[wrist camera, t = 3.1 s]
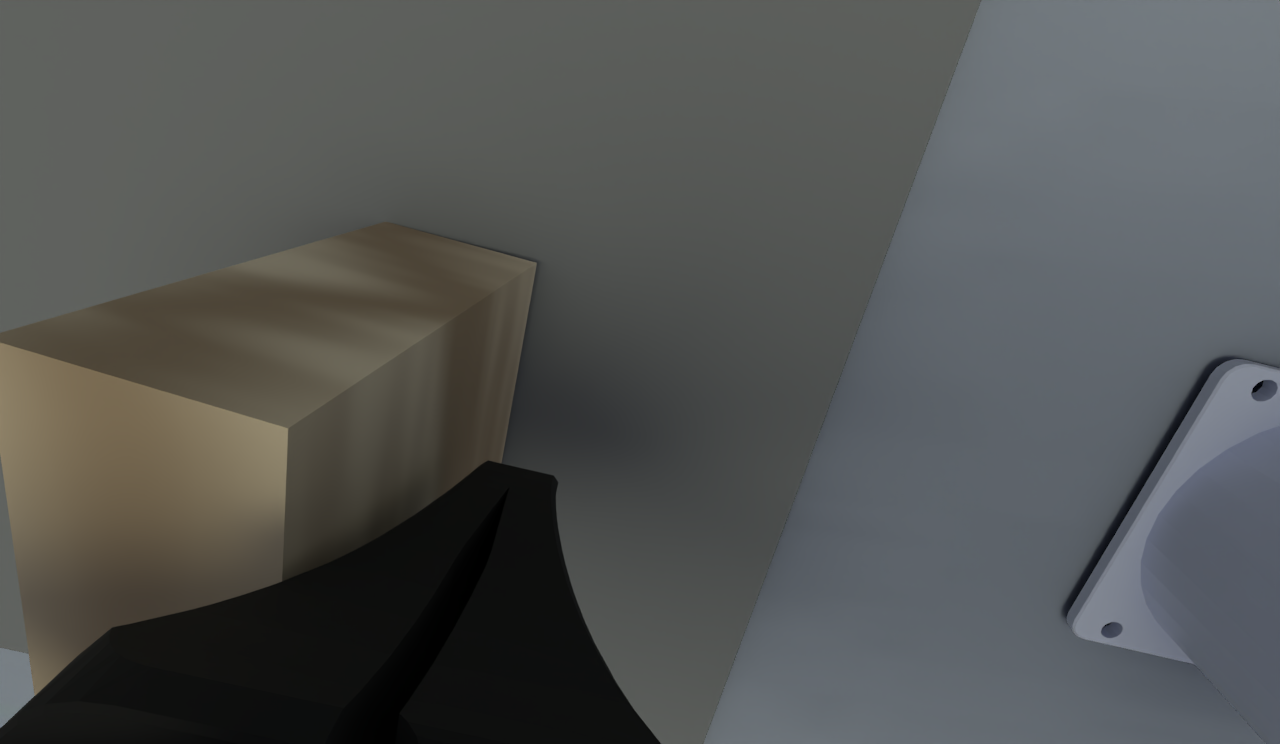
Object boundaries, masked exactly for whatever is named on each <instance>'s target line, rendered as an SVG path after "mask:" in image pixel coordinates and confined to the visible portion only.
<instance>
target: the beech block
mask: <svg viewBox="0 0 1280 744" xmlns="http://www.w3.org/2000/svg"><path fill="white" fill-rule="evenodd" d="M536 266H537V263H536V262H532V261H528V260H525V259H521V258H517V257H514V256H510V255H506V254H503V253H499V252H495V251H492V250H488V249H484V248H481V247H477V246H474V245H470V244H466V243H463V242H459V241H455V240H452V239H448V238H444V237H441V236H437V235H433V234H430V233H426V232H422V231H419V230H415V229H411V228H408V227H404V226H400V225H397V224H393V223H389V222H382V223H379V224H375V225H372V226H369V227H365V228H362V229H358V230H355V231H351V232H348V233H344V234H341V235H337V236H334V237H330V238H327V239H323V240H320V241H317V242H313V243H310V244H306V245H303V246H299V247H296V248H292V249H289V250H285V251H282V252H278V253H275V254H272V255H268V256H265V257H261V258H258V259H254V260H251V261H247V262H244V263H240V264H237V265H233V266H230V267H226V268H223V269H220V270H216V271H213V272H209V273H206V274H202V275H199V276H195V277H192V278H188V279H185V280H181V281H178V282H174V283H171V284H168V285H164V286H161V287H157V288H154V289H150V290H147V291H143V292H140V293H136V294H133V295H129V296H126V297H122V298H119V299H116V300H112V301H109V302H105V303H102V304H98V305H95V306H91V307H88V308H84V309H81V310H77V311H74V312H70V313H67V314H64V315H60V316H57V317H53V318H50V319H46V320H43V321H39V322H36V323H32V324H29V325H25V326H22V327H19V328H15V329H12V330H8V331H5V332H1V333H0V456H1V463H2V470H3V477H4V484H5V491H6V498H7V505H8V512H9V519H10V526H11V533H12V540H13V547H14V554H15V561H16V568H17V575H18V582H19V589H20V596H21V603H22V609H23V616H24V623H25V630H26V637H27V644H28V651H29V658H30V665H31V672H32V679H33V686H34V693H35V695H36V694H37V693H38V692H40V691H41V690H42V689H43V688H44V687H45V686H46V685H47V684H48V683H49V682H50V681H51V680H52V679H53V678H54V677H55V676H56V675H58V674H59V673H60V672H61V671H62V670H63V669H64V668H65V667H66V666H67V665H68V664H69V663H70V662H71V661H73V660H74V659H75V658H76V657H77V656H78V655H79V654H80V653H81V652H83V651H84V650H85V649H86V648H88V647H89V646H90V645H91V644H93V643H94V642H95V641H96V640H97V639H99V638H100V637H101V636H102V635H104V634H105V633H106V632H107V631H108V630H110V629H111V628H112V627H116V626H121V625H126V624H131V623H136V622H140V621H144V620H149V619H153V618H157V617H162V616H166V615H170V614H175V613H179V612H183V611H188V610H192V609H196V608H199V607H203V606H207V605H210V604H214V603H217V602H221V601H224V600H227V599H231V598H234V597H237V596H241V595H244V594H247V593H250V592H253V591H256V590H259V589H262V588H265V587H268V586H271V585H274V584H277V583H279V582H282V581H284V580H287V579H289V578H292V577H294V576H297V575H299V574H302V573H304V572H307V571H309V570H312V569H314V568H317V567H319V566H322V565H324V564H327V563H329V562H331V561H333V560H335V559H338V558H340V557H342V556H344V555H346V554H348V553H350V552H352V551H354V550H356V549H358V548H359V547H361V546H363V545H365V544H367V543H369V542H370V541H372V540H374V539H376V538H378V537H379V536H381V535H383V534H384V533H386V532H387V531H389V530H391V529H392V528H394V527H396V526H397V525H399V524H400V523H402V522H404V521H405V520H407V519H408V518H410V517H412V516H413V515H415V514H416V513H418V512H419V511H421V510H422V509H423V508H425V507H426V506H428V505H429V504H430V503H432V502H433V501H435V500H436V499H437V498H439V497H440V496H442V495H443V494H444V493H446V492H447V491H448V490H450V489H451V488H452V487H454V486H455V485H456V484H457V483H459V482H460V481H461V480H463V479H464V478H465V477H466V476H468V475H469V474H470V473H471V472H472V471H474V470H475V469H476V468H477V467H478V466H480V465H481V464H483V463H484V462H486V461H488V460H489V461H493V462H497V463H502V457H503V452H504V446H505V441H506V435H507V429H508V424H509V418H510V412H511V407H512V401H513V395H514V390H515V384H516V378H517V373H518V367H519V362H520V356H521V350H522V345H523V339H524V333H525V328H526V322H527V316H528V311H529V305H530V300H531V294H532V288H533V283H534V277H535V271H536Z"/></svg>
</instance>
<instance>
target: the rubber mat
mask: <svg viewBox="0 0 1280 744" xmlns="http://www.w3.org/2000/svg"><path fill="white" fill-rule="evenodd" d="M980 2H981V0H0V333H1V332H5V331H8V330H12V329H15V328H19V327H22V326H25V325H29V324H32V323H36V322H39V321H43V320H46V319H50V318H53V317H57V316H60V315H64V314H67V313H70V312H74V311H77V310H81V309H84V308H88V307H91V306H95V305H98V304H102V303H105V302H109V301H112V300H116V299H119V298H122V297H126V296H129V295H133V294H136V293H140V292H143V291H147V290H150V289H154V288H157V287H161V286H164V285H168V284H171V283H174V282H178V281H181V280H185V279H188V278H192V277H195V276H199V275H202V274H206V273H209V272H213V271H216V270H220V269H223V268H226V267H230V266H233V265H237V264H240V263H244V262H247V261H251V260H254V259H258V258H261V257H265V256H268V255H272V254H275V253H278V252H282V251H285V250H289V249H292V248H296V247H299V246H303V245H306V244H310V243H313V242H317V241H320V240H323V239H327V238H330V237H334V236H337V235H341V234H344V233H348V232H351V231H355V230H358V229H362V228H365V227H369V226H372V225H375V224H379V223H382V222H389V223H393V224H397V225H400V226H404V227H408V228H411V229H415V230H419V231H422V232H426V233H430V234H433V235H437V236H441V237H444V238H448V239H452V240H455V241H459V242H463V243H466V244H470V245H474V246H477V247H481V248H484V249H488V250H492V251H495V252H499V253H503V254H506V255H510V256H514V257H517V258H521V259H525V260H528V261H532V262H536V263H537V266H536V271H535V277H534V283H533V288H532V294H531V300H530V305H529V311H528V316H527V322H526V328H525V333H524V339H523V345H522V350H521V356H520V362H519V367H518V373H517V378H516V384H515V390H514V395H513V401H512V407H511V412H510V418H509V424H508V429H507V435H506V441H505V446H504V452H503V457H502V464H506V465H510V466H515V467H519V468H523V469H528V470H532V471H537V472H541V473H545V474H550V475H554V477H555V478H556V480H557V481H558V487H557V491H556V512H557V522H558V530H559V535H560V541H561V546H562V551H563V556H564V560H565V564H566V568H567V571H568V575H569V578H570V582H571V585H572V588H573V591H574V594H575V597H576V600H577V603H578V605H579V608H580V610H581V613H582V615H583V618H584V620H585V623H586V625H587V627H588V629H589V631H590V634H591V636H592V638H593V640H594V642H595V644H596V646H597V648H598V650H599V652H600V654H601V655H602V657H603V659H604V661H605V663H606V664H607V666H608V668H609V670H610V672H611V673H612V675H613V677H614V679H615V681H616V683H617V684H618V686H619V687H620V689H621V690H622V692H623V693H624V695H625V696H626V698H627V699H628V701H629V702H630V704H631V705H632V707H633V709H634V710H635V711H636V713H637V714H638V715H639V716H640V718H641V719H642V720H643V721H644V723H645V724H646V725H647V726H648V728H649V729H650V730H651V731H652V733H653V734H654V735H655V736H656V738H657V739H658V740H659V742H660V743H661V744H703V743H704V740H705V738H706V735H707V732H708V730H709V727H710V724H711V721H712V719H713V716H714V713H715V711H716V708H717V705H718V703H719V700H720V697H721V695H722V692H723V689H724V687H725V684H726V681H727V679H728V676H729V673H730V671H731V668H732V665H733V663H734V660H735V657H736V655H737V652H738V649H739V647H740V644H741V641H742V639H743V636H744V633H745V631H746V628H747V625H748V623H749V620H750V617H751V615H752V612H753V609H754V607H755V604H756V601H757V598H758V596H759V593H760V590H761V588H762V585H763V582H764V580H765V577H766V574H767V572H768V569H769V566H770V564H771V561H772V558H773V556H774V553H775V550H776V548H777V545H778V542H779V540H780V537H781V534H782V532H783V529H784V526H785V524H786V521H787V518H788V516H789V513H790V510H791V508H792V505H793V502H794V500H795V497H796V494H797V492H798V489H799V486H800V484H801V481H802V478H803V476H804V473H805V470H806V467H807V465H808V462H809V459H810V457H811V454H812V451H813V449H814V446H815V443H816V441H817V438H818V435H819V433H820V430H821V427H822V425H823V422H824V419H825V417H826V414H827V411H828V409H829V406H830V403H831V401H832V398H833V395H834V393H835V390H836V387H837V385H838V382H839V379H840V377H841V374H842V371H843V369H844V366H845V363H846V361H847V358H848V355H849V353H850V350H851V347H852V344H853V342H854V339H855V336H856V334H857V331H858V328H859V326H860V323H861V320H862V318H863V315H864V312H865V310H866V307H867V304H868V302H869V299H870V296H871V294H872V291H873V288H874V286H875V283H876V280H877V278H878V275H879V272H880V270H881V267H882V264H883V262H884V259H885V256H886V254H887V251H888V248H889V246H890V243H891V240H892V238H893V235H894V232H895V230H896V227H897V224H898V221H899V219H900V216H901V213H902V211H903V208H904V205H905V203H906V200H907V197H908V195H909V192H910V189H911V187H912V184H913V181H914V179H915V176H916V173H917V171H918V168H919V165H920V163H921V160H922V157H923V155H924V152H925V149H926V147H927V144H928V141H929V139H930V136H931V133H932V131H933V128H934V125H935V123H936V120H937V117H938V115H939V112H940V109H941V107H942V104H943V101H944V98H945V96H946V93H947V90H948V88H949V85H950V82H951V80H952V77H953V74H954V72H955V69H956V66H957V64H958V61H959V58H960V56H961V53H962V50H963V48H964V45H965V42H966V40H967V37H968V34H969V32H970V29H971V26H972V24H973V21H974V18H975V16H976V13H977V10H978V8H979V5H980ZM0 648H5V649H10V650H14V651H19V652H23V653H28V654H29V651H28V644H27V637H26V630H25V623H24V616H23V609H22V603H21V596H20V589H19V582H18V575H17V568H16V561H15V554H14V547H13V540H12V533H11V526H10V519H9V512H8V505H7V498H6V491H5V484H4V477H3V470H2V463H1V456H0Z"/></svg>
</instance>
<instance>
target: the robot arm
mask: <svg viewBox="0 0 1280 744" xmlns="http://www.w3.org/2000/svg"><path fill="white" fill-rule="evenodd" d="M1263 380H1264V382H1263V385H1262V387H1261V388H1260V389H1259V390H1258V391H1257V392H1254V393H1252V394H1251V392H1252V389H1253V387H1254V386H1255V385H1256V384H1257V383H1259V382H1261V381H1263ZM557 487H558V481H557V480H556V478H555V477H554V475H550V474H545V473H541V472H537V471H532V470H528V469H523V468H519V467H515V466H510V465H506V464H502V463H497V462H493V461H489V460H488V461H486V462H484V463H483V464H481V465H480V466H478V467H477V468H476V469H475V470H474V471H472V472H471V473H470V474H469V475H468V476H466V477H465V478H464V479H463V480H461V481H460V482H459V483H457V484H456V485H455V486H454V487H452V488H451V489H450V490H448V491H447V492H446V493H444V494H443V495H442V496H440V497H439V498H437V499H436V500H435V501H433V502H432V503H430V504H429V505H428V506H426V507H425V508H423V509H422V510H421V511H419V512H418V513H416V514H415V515H413V516H412V517H410V518H408V519H407V520H405V521H404V522H402V523H400V524H399V525H397V526H396V527H394V528H392V529H391V530H389V531H387V532H386V533H384V534H383V535H381V536H379V537H378V538H376V539H374V540H372V541H370V542H369V543H367V544H365V545H363V546H361V547H359V548H358V549H356V550H354V551H352V552H350V553H348V554H346V555H344V556H342V557H340V558H338V559H335V560H333V561H331V562H329V563H327V564H324V565H322V566H319V567H317V568H314V569H312V570H309V571H307V572H304V573H302V574H299V575H297V576H294V577H292V578H289V579H287V580H284V581H282V582H279V583H277V584H274V585H271V586H268V587H265V588H262V589H259V590H256V591H253V592H250V593H247V594H244V595H241V596H237V597H234V598H231V599H227V600H224V601H221V602H217V603H214V604H210V605H207V606H203V607H199V608H196V609H192V610H188V611H183V612H179V613H175V614H170V615H166V616H162V617H157V618H153V619H149V620H144V621H140V622H136V623H131V624H126V625H121V626H116V627H112V628H111V629H110V630H108V631H107V632H106V633H105V634H104V635H102V636H101V637H100V638H99V639H97V640H96V641H95V642H94V643H93V644H91V645H90V646H89V647H88V648H86V649H85V650H84V651H83V652H81V653H80V654H79V655H78V656H77V657H76V658H75V659H74V660H73V661H71V662H70V663H69V664H68V665H67V666H66V667H65V668H64V669H63V670H62V671H61V672H60V673H59V674H58V675H56V676H55V677H54V678H53V679H52V680H51V681H50V682H49V683H48V684H47V685H46V686H45V687H44V688H43V689H42V690H41V691H40V692H38V693H37V694H36V695H35V696H34V697H33V698H32V699H31V700H30V701H29V702H28V703H27V704H26V705H25V706H24V707H23V708H22V709H20V710H19V711H18V712H17V713H16V714H15V715H14V716H13V717H12V718H11V719H10V720H9V721H8V722H7V723H6V724H5V725H4V726H2V727H1V728H0V744H661V743H660V742H659V740H658V739H657V738H656V736H655V735H654V734H653V733H652V731H651V730H650V729H649V728H648V726H647V725H646V724H645V723H644V721H643V720H642V719H641V718H640V716H639V715H638V714H637V713H636V711H635V710H634V709H633V707H632V705H631V704H630V702H629V701H628V699H627V698H626V696H625V695H624V693H623V692H622V690H621V689H620V687H619V686H618V684H617V683H616V681H615V679H614V677H613V675H612V673H611V672H610V670H609V668H608V666H607V664H606V663H605V661H604V659H603V657H602V655H601V654H600V652H599V650H598V648H597V646H596V644H595V642H594V640H593V638H592V636H591V634H590V631H589V629H588V627H587V625H586V623H585V620H584V618H583V615H582V613H581V610H580V608H579V605H578V603H577V600H576V597H575V594H574V591H573V588H572V585H571V582H570V578H569V575H568V571H567V568H566V564H565V560H564V556H563V551H562V546H561V541H560V535H559V530H558V522H557V512H556V491H557ZM1066 619H1067V624H1068V625H1069V627H1070V628H1071V629H1072V631H1073V632H1074V633H1075V634H1076V636H1077V637H1080V638H1082V639H1085V640H1090V641H1094V642H1098V643H1103V644H1107V645H1112V646H1116V647H1120V648H1125V649H1129V650H1133V651H1138V652H1142V653H1147V654H1151V655H1155V656H1160V657H1164V658H1169V659H1173V660H1177V661H1182V662H1186V663H1190V664H1195V665H1196V666H1197V667H1198V668H1199V670H1200V671H1201V672H1202V673H1203V674H1204V675H1205V676H1206V677H1207V678H1208V680H1209V681H1210V682H1211V683H1212V684H1213V685H1214V686H1215V687H1216V689H1217V690H1218V691H1219V692H1220V693H1221V694H1222V695H1223V696H1224V697H1225V699H1226V700H1227V701H1228V702H1229V703H1230V704H1231V705H1232V706H1233V707H1234V709H1235V710H1236V711H1237V712H1238V713H1239V714H1240V715H1241V716H1242V717H1243V719H1244V720H1245V721H1246V722H1247V723H1248V724H1249V725H1250V726H1251V728H1252V729H1253V730H1254V731H1255V732H1256V733H1257V734H1258V735H1259V736H1260V738H1261V739H1262V740H1263V741H1264V742H1265V743H1266V744H1280V368H1277V367H1273V366H1269V365H1265V364H1260V363H1256V362H1252V361H1248V360H1244V359H1233V360H1229V361H1226V362H1224V363H1222V364H1221V365H1219V366H1218V367H1216V369H1215V370H1214V371H1213V372H1212V373H1211V375H1210V376H1209V378H1208V380H1207V381H1206V383H1205V385H1204V386H1203V388H1202V390H1201V391H1200V393H1199V395H1198V396H1197V398H1196V400H1195V401H1194V403H1193V405H1192V406H1191V408H1190V410H1189V411H1188V413H1187V415H1186V416H1185V418H1184V420H1183V421H1182V423H1181V425H1180V426H1179V428H1178V430H1177V431H1176V433H1175V435H1174V436H1173V438H1172V440H1171V441H1170V443H1169V445H1168V446H1167V448H1166V450H1165V452H1164V453H1163V455H1162V457H1161V458H1160V460H1159V462H1158V463H1157V465H1156V467H1155V468H1154V470H1153V472H1152V473H1151V475H1150V477H1149V478H1148V480H1147V482H1146V483H1145V485H1144V487H1143V488H1142V490H1141V492H1140V493H1139V495H1138V497H1137V498H1136V500H1135V502H1134V503H1133V505H1132V507H1131V508H1130V510H1129V512H1128V513H1127V515H1126V517H1125V518H1124V520H1123V522H1122V523H1121V525H1120V527H1119V528H1118V530H1117V532H1116V533H1115V535H1114V537H1113V538H1112V540H1111V542H1110V543H1109V545H1108V547H1107V548H1106V550H1105V552H1104V553H1103V555H1102V557H1101V559H1100V560H1099V562H1098V564H1097V565H1096V567H1095V569H1094V570H1093V572H1092V574H1091V575H1090V577H1089V579H1088V580H1087V582H1086V584H1085V585H1084V587H1083V589H1082V590H1081V592H1080V594H1079V595H1078V597H1077V599H1076V600H1075V602H1074V604H1073V605H1072V607H1071V609H1070V610H1069V612H1068V615H1067V618H1066ZM1110 622H1112V623H1111V624H1110V625H1108V626H1105V625H1106V624H1108V623H1110ZM1103 626H1105V627H1103Z"/></svg>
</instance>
